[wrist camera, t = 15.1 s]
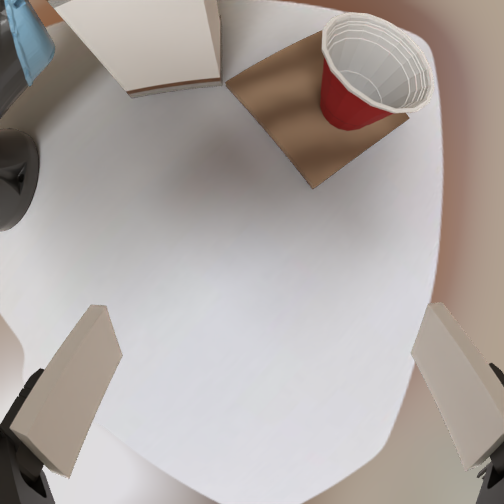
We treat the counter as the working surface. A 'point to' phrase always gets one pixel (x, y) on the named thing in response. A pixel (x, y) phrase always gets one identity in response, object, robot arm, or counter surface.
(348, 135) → the walnut board
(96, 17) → the white dispenser
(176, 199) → the counter surface
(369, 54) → the plastic cup
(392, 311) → the counter surface
